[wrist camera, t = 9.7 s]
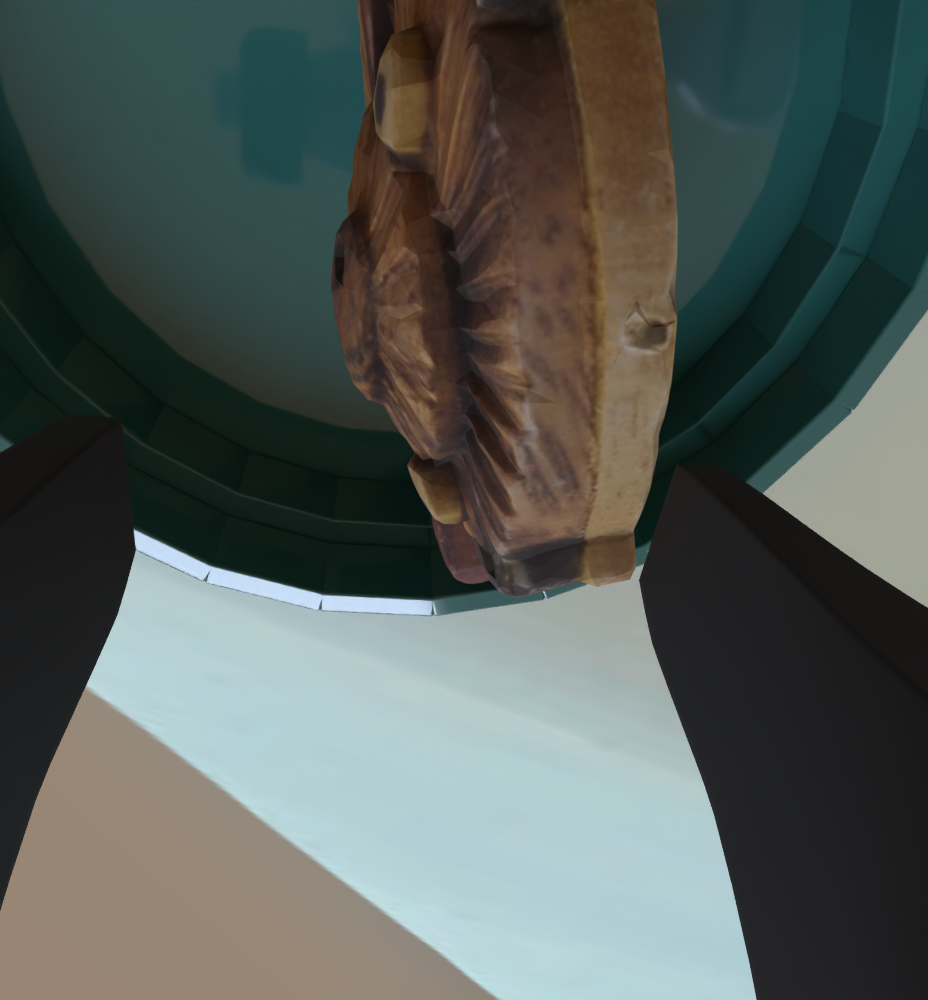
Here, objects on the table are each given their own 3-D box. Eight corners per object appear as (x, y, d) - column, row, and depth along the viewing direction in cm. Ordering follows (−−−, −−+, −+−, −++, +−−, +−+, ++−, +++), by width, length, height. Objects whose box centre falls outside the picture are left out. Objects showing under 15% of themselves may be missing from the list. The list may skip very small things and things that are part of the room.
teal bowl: (1110, -501, 13) (1383, -667, 10) (726, 530, 25) (783, 634, 21) (-310, -850, 11) (-679, -1260, 7) (-7, 483, 22) (-88, 593, 19)
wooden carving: (217, -366, 13) (-75, -861, 5) (498, -432, 13) (675, -1059, 5) (424, 478, 23) (440, 792, 14) (589, 448, 22) (703, 746, 14)
